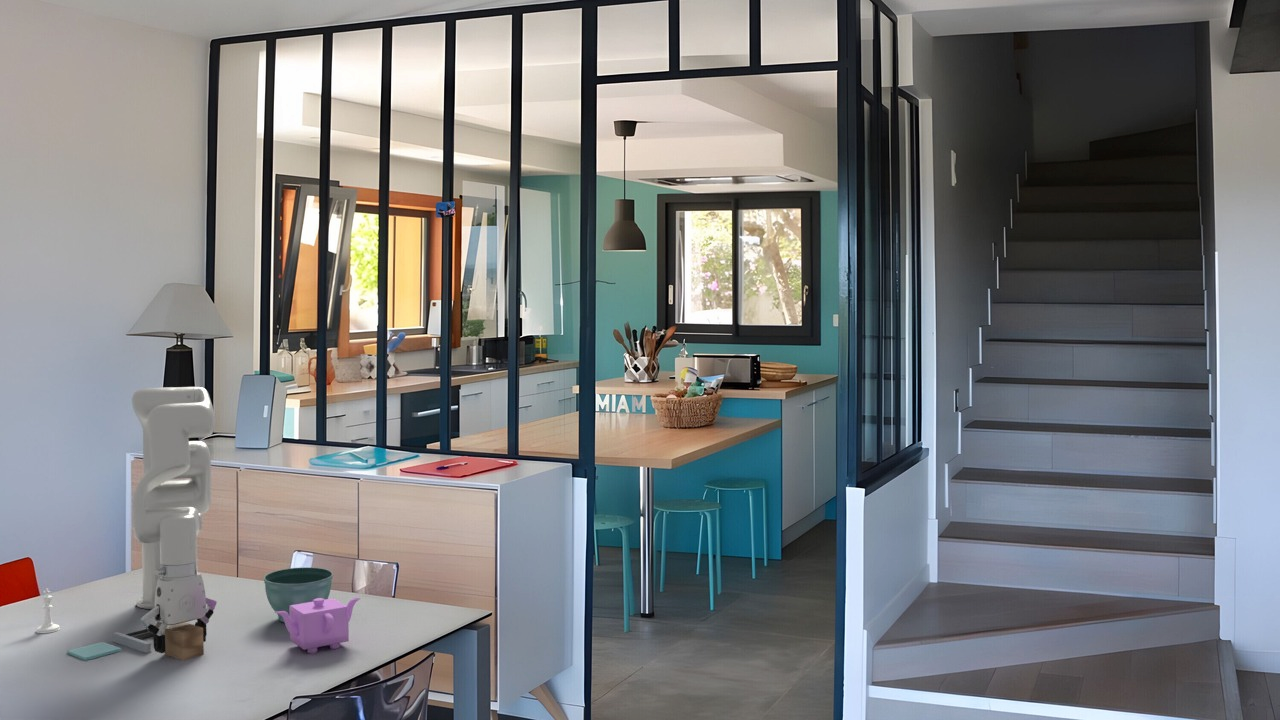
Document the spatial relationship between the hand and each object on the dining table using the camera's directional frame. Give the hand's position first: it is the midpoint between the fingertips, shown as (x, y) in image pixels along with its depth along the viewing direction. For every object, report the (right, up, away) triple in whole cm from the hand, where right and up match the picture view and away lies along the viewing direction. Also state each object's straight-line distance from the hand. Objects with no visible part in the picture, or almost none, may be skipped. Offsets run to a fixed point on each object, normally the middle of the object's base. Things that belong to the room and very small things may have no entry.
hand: (180, 646), depth 240 cm
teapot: (+29, -1, +5) cm, 30 cm away
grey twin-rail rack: (-10, -1, +8) cm, 13 cm away
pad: (-19, -1, +1) cm, 19 cm away
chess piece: (-38, -1, +17) cm, 42 cm away
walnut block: (+1, -2, -1) cm, 2 cm away
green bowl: (+18, 0, +27) cm, 32 cm away
